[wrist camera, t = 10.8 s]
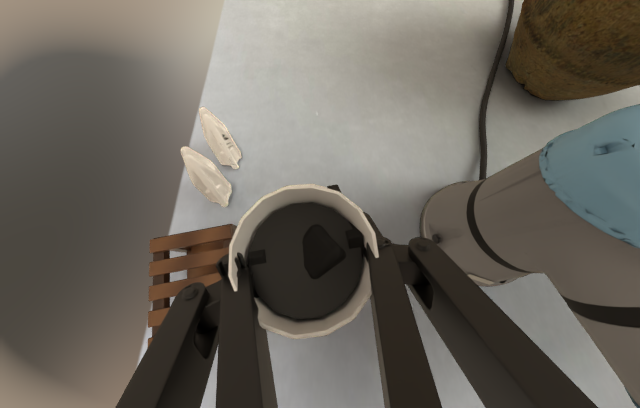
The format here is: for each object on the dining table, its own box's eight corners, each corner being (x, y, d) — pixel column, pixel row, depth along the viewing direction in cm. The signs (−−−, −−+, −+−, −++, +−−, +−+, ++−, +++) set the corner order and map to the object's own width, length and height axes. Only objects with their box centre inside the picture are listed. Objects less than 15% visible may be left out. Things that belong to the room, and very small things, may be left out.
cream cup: (315, 211, 21) (316, 158, 11) (363, 269, 19) (411, 265, 10) (255, 257, 19) (198, 241, 10) (302, 324, 18) (287, 380, 8)
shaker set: (232, 210, 35) (195, 185, 25) (206, 209, 35) (157, 183, 25) (245, 143, 39) (216, 96, 28) (221, 142, 39) (183, 94, 28)
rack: (252, 234, 34) (229, 222, 26) (262, 319, 31) (239, 338, 22) (193, 245, 34) (149, 237, 25) (196, 333, 31) (147, 358, 22)
